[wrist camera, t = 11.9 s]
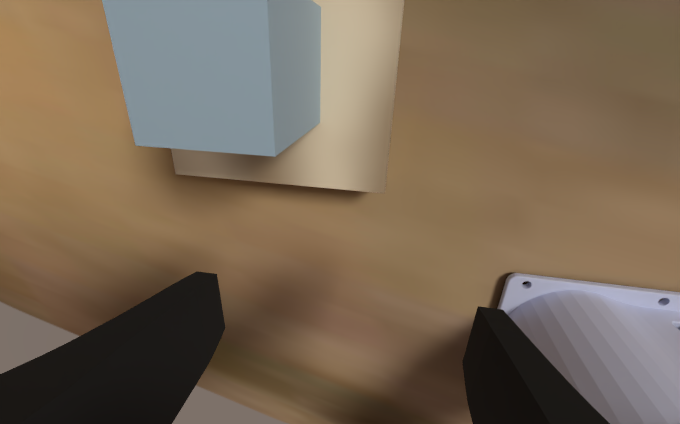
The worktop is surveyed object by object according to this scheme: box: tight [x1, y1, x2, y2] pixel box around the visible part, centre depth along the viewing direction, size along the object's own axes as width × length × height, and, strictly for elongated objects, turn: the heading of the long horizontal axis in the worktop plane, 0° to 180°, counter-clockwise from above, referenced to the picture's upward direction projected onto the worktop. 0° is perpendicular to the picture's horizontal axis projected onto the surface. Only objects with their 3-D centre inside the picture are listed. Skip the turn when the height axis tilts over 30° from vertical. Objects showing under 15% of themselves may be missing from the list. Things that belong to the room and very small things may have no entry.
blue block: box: [102, 0, 321, 157], centre depth 12 cm, size 4×4×6 cm
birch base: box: [171, 0, 404, 193], centre depth 15 cm, size 11×11×2 cm
